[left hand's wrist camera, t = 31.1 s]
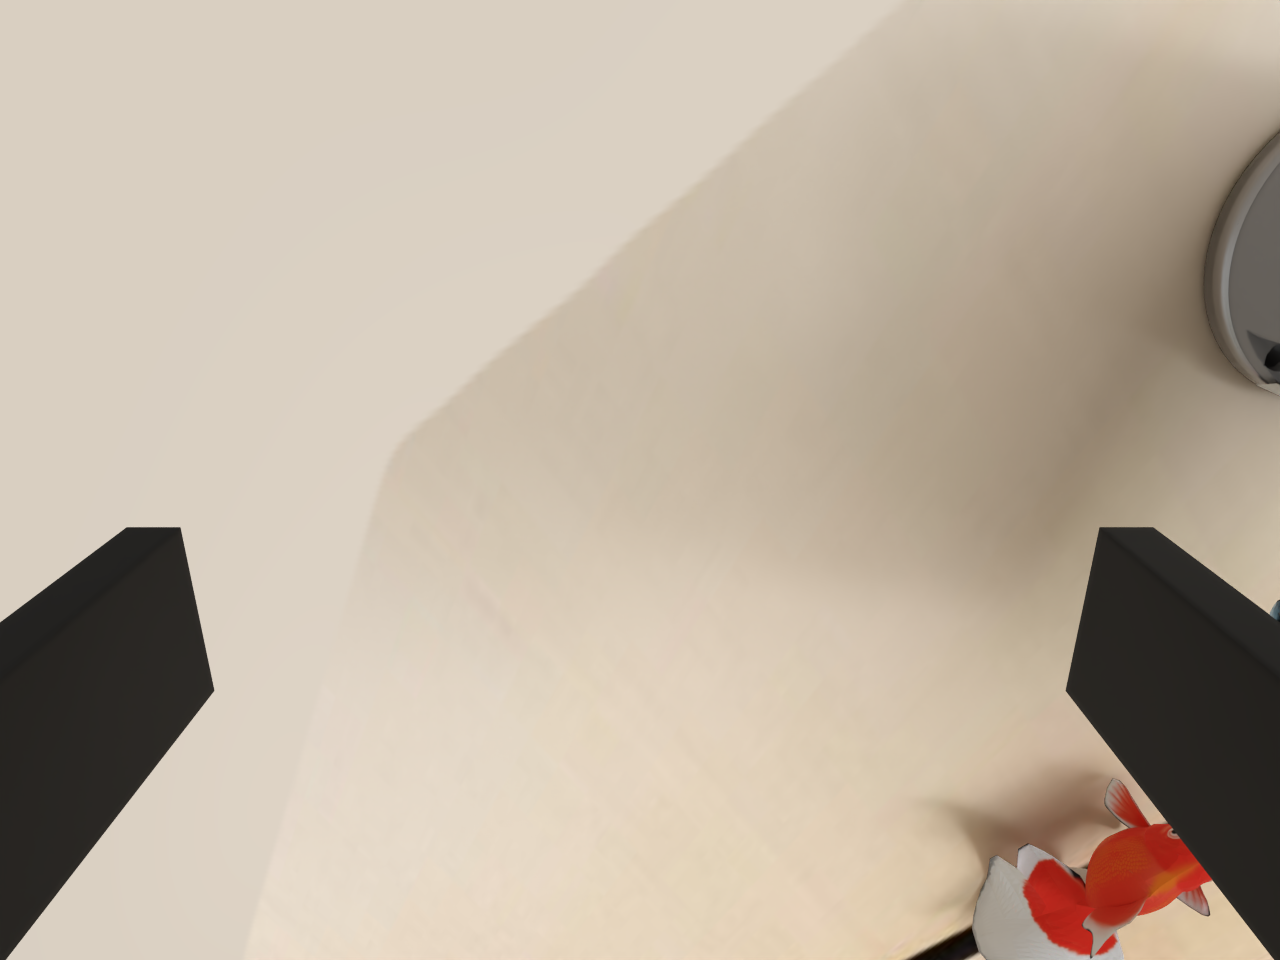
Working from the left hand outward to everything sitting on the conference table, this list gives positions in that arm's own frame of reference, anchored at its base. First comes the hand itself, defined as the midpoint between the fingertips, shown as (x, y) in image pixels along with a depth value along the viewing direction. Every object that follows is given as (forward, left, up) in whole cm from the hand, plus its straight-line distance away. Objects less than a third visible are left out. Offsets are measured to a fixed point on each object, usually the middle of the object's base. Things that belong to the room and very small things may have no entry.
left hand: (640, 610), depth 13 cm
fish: (+36, +26, -32) cm, 55 cm away
